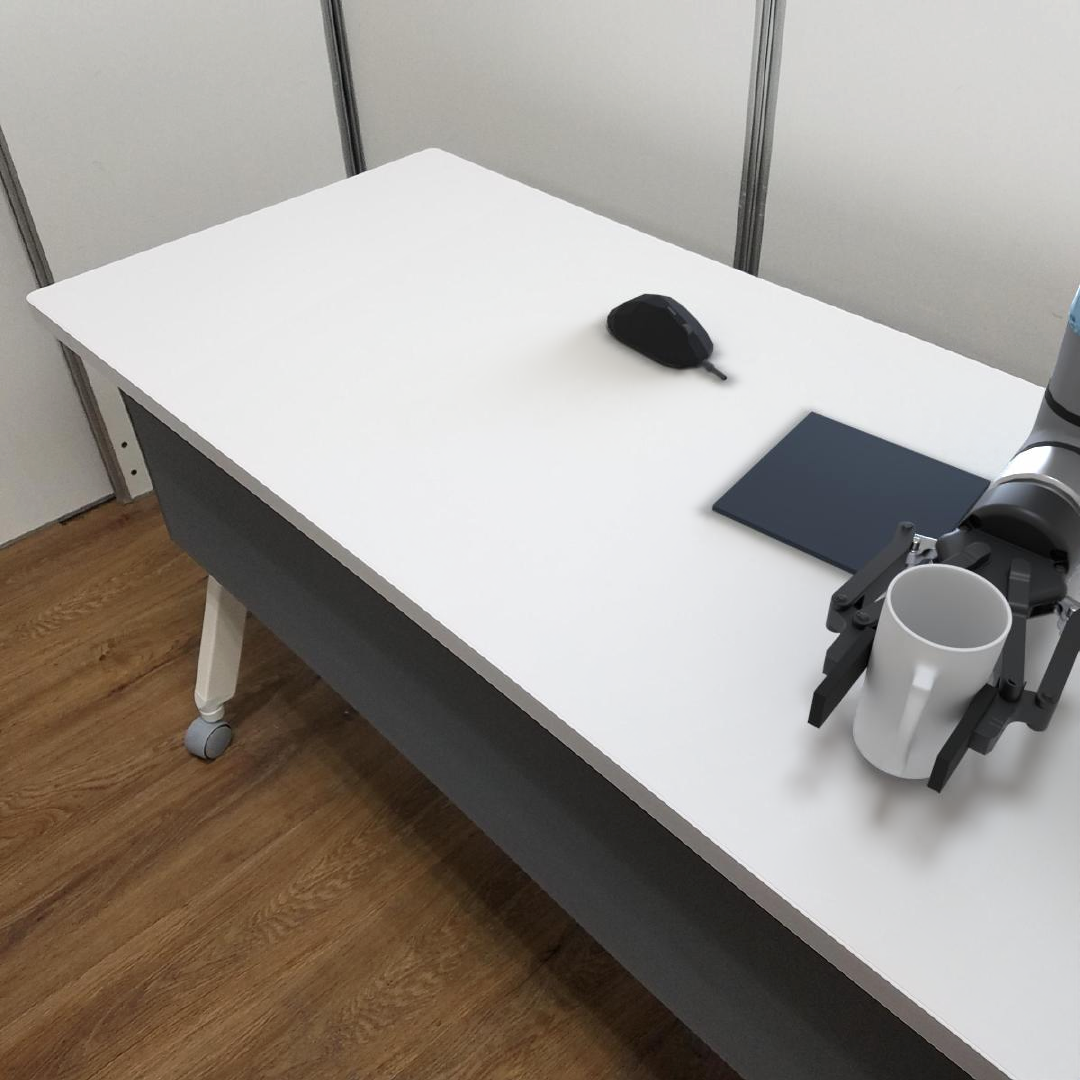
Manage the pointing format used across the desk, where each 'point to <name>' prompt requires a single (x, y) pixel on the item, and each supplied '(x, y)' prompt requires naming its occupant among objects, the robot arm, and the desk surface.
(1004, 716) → the robot arm
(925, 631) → the mug
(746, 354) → the desk surface
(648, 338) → the gaming mouse
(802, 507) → the mat
